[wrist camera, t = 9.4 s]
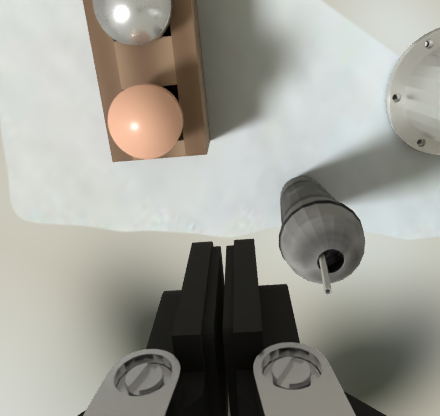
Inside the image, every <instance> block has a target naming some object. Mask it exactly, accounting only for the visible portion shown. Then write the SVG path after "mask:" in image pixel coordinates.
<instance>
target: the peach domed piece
mask: <svg viewBox="0 0 440 416" xmlns="http://www.w3.org/2000/svg"><path fill="white" fill-rule="evenodd" d="M183 122H184V119H183V112H182V109H181V106H180V104H179V102H178V101H177V99H176V98H175V96H174V95H173V94H172V93H171V92H169V91H168V90H167V89H165V88H163V87H161V86H159V85H156V84H151V83H142V84H138V85H134V86H132V87H129V88H127V89H125V90H123V91H122V92H121V93H119V94H118V95H117V96H116V98H115V99H114V100H113V102H112V104H111V106H110V108H109V112H108V127H109V131H110V134H111V136H112V138H113V140H114V142H115V143H116V144H117V145H118V147H119V148H120V149H122V150H123V151H124V152H125V153H127V154H129V155H131V156H133V157H136V158H140V159H154V158H157V157H160V156H162V155H164V154H166V153H167V152H169V151H170V150H171V149H172V148H173V147H174V145H175V144H176V142H177V140H178V139H179V137H180V135H181V132H182V129H183Z"/></svg>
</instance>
